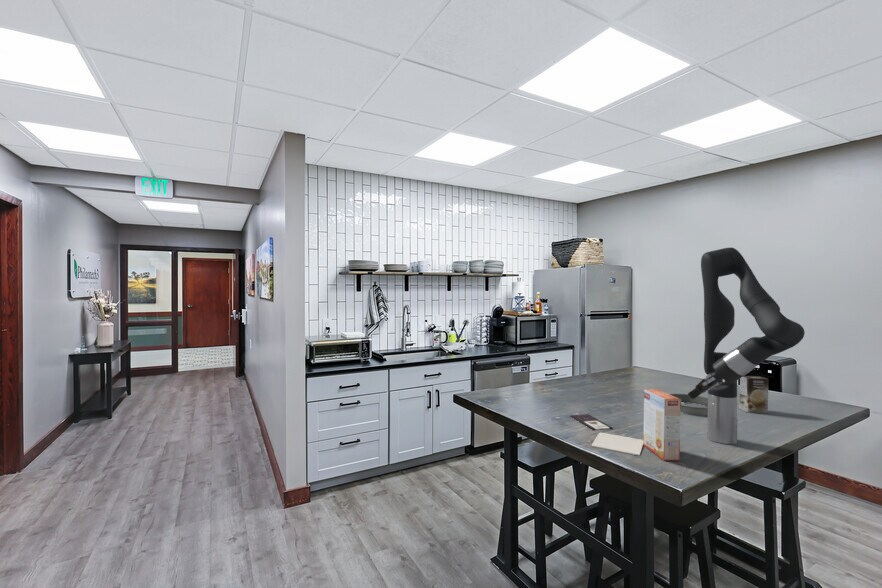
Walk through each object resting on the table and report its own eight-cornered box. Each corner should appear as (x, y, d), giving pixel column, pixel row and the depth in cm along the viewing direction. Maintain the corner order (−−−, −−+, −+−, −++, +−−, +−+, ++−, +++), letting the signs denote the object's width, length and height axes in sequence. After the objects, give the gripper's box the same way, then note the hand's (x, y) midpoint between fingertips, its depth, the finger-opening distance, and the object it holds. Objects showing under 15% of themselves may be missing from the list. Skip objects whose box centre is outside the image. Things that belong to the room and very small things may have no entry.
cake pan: (726, 420, 182) (727, 409, 182) (663, 412, 193) (663, 402, 193) (717, 405, 205) (717, 396, 204) (661, 399, 215) (661, 391, 215)
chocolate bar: (588, 414, 188) (612, 427, 170) (588, 416, 188) (612, 429, 170) (570, 415, 186) (592, 428, 168) (570, 417, 186) (592, 431, 168)
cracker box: (681, 461, 138) (682, 398, 138) (663, 461, 138) (663, 398, 138) (659, 445, 152) (659, 388, 152) (642, 445, 152) (643, 388, 152)
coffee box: (747, 412, 192) (747, 378, 192) (738, 408, 199) (739, 375, 199) (768, 413, 192) (769, 378, 191) (759, 409, 198) (759, 375, 198)
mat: (644, 441, 156) (644, 440, 156) (639, 455, 143) (639, 454, 143) (599, 433, 164) (599, 432, 164) (591, 446, 151) (591, 445, 151)
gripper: (732, 353, 134) (690, 384, 144) (717, 357, 126) (673, 389, 136) (751, 372, 130) (707, 402, 140) (737, 377, 122) (691, 409, 132)
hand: (690, 396), depth 138 cm, fingers closed
